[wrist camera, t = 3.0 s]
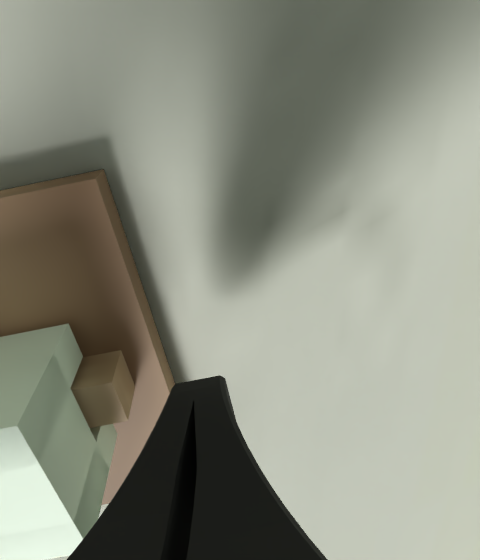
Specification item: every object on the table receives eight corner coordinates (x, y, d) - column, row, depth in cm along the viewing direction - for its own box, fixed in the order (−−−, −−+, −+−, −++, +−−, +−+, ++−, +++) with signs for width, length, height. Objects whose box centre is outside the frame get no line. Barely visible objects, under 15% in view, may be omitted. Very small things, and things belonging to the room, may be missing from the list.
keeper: (1, 456, 15) (-61, 579, 11) (-67, 350, 13) (-167, 461, 9) (117, 434, 15) (90, 551, 11) (68, 323, 13) (16, 425, 9)
